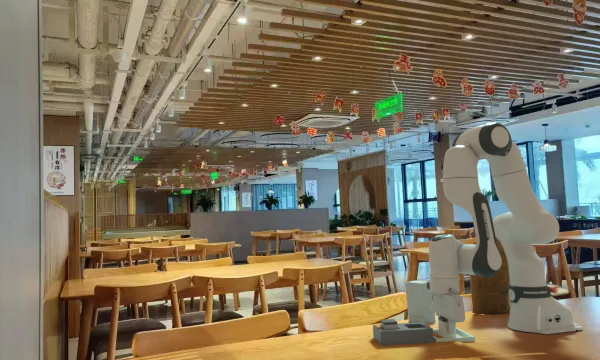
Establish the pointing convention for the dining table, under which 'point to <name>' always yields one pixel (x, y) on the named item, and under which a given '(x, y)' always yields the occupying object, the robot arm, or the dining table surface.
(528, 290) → the robot arm
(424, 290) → the skincare box
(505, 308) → the pancake mix bag
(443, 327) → the plug
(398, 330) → the grey socket block
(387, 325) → the twin plug
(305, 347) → the dining table surface
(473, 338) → the tray
